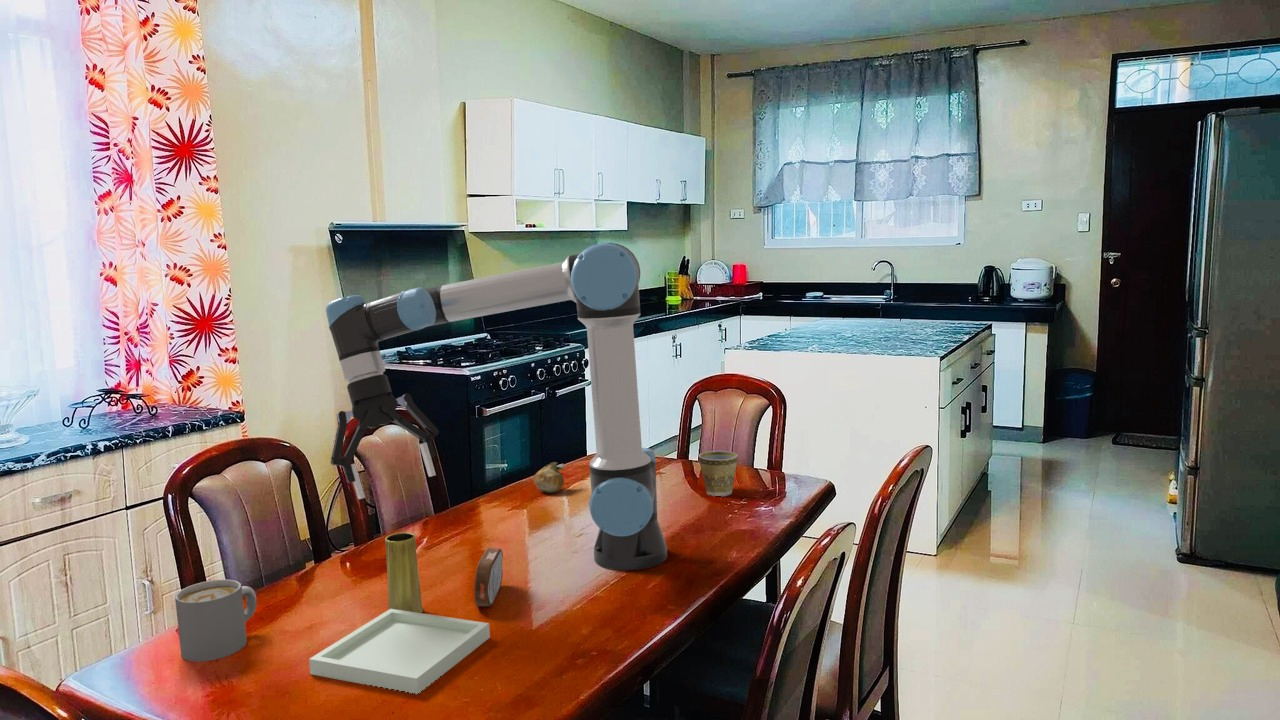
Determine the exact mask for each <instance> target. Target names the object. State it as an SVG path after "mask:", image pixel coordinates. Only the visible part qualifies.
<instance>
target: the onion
mask: <svg viewBox="0 0 1280 720" xmlns="http://www.w3.org/2000/svg"><path fill="white" fill-rule="evenodd" d="M557 464H558V462H555V461H554V462H550V463H549V464H546V465H545V466H544V467H542V468H541V469H540V470H538V471H537V472H536V473H535V474H534V475H533V476H534V477H533V483H534V484H535V486H536V487H537V489H538V490H540V492H543V493H546V494H552V493H553V494H554V493H557V492H559V491H560V490H562V488H563V486H564V483H565V479H564V476H563V474H562V473H561V471H559V470H563V469H565V464H564V463H561V464H558V465H557Z"/></svg>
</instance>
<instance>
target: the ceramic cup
mask: <svg viewBox="0 0 1280 720" xmlns="http://www.w3.org/2000/svg"><path fill="white" fill-rule="evenodd" d="M698 461H699V466H700V469H701V472H702V476H703V481H704V488H705V490H706V495H708V496H710V495H711V497H715V496H721V497H727V496H730V495H732V493H733V489H734V482H735V481H734V480H735V475H736V468H737V464H738V454H737V453H736V452H734V451H729V450H728V451H727V450H711V451H710V450H709V451H704V452H702V453H700V454H698Z"/></svg>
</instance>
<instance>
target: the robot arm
mask: <svg viewBox="0 0 1280 720" xmlns="http://www.w3.org/2000/svg"><path fill="white" fill-rule="evenodd" d="M640 279H641V267H640V264H639V261H638V258H637V257H636V256H635V254H634V253H633V252H632V251H631V250H630V248H627V247H626V246H624V245H622V244H620V243H619V244H618V243H613V242H604V241H603V242H598V243H593V244H592V245H589V246H588V247H586V248H585V249H583V250H582V251H581V252H580V253H576V254H572V255H568V256H567V257H566V258H565V260H564V261H563V262H557V263H553V264H548V265H547V264H546V265H541V266H538V267H532V268H527V269H521V270H520V269H519V270H516V271H511V272H506V273H499V274H496V275H490V276H484V277H479V278H475V279H469V280H464V281H458V282H453V283H447V284H443V285H438V286H433V287H427V288H426V287H415V288H410V289H405V290H403V291H400V292H398V293H395V294H391V295H389V296H385V297H384V298H383V297H382V298H381V299H377V300H373V301H371V302H367V301H366V298H365V297H364V296H362V295H359V294H356V295H348V296H346V297H340V298H337V299H335V300H332V301H330V302H328V304H327V305H326V307H325V312H326V319H327V322H328V330H329V331H330V334H331V337H332V339H333V342H334V346H335V349H336V352H337V357H338V360H339V363H340V364H339V365H340V366H341V370H342V374H343V378H344V381H346V382H348V384H347V386H346V388H347V392H348V396H349V399H350V404H351V406H352V408H351V410H347V411H344V410H339V412H337V413H336V421H337V429H336V433H335V439H334V444H333V449H332V452H331V457H330V464H331V466H340V467H342V468H343V473H344V475H345V480H346V482H347V483H349V484H351V483H353V485H354V488H355V491H356V492H355V493H356V496H357V499H358V500H362V499H365V498H366V495H365V492H364V488H363V486H362V482H361V481H362V480H361V479H360V476H359V471H358V467H357V465H356V463H352V464H351V462H352V460H353V459H354V456H355V454H356V452H357V449H358V447H359V445H360V444H361V441H362V439H363V437H364V434H365V432H366V431H367V429H374V428H377V427H379V426H384V425H388V424H389V423H390V422H392V423H393V424H396V425H397V426H399V427H401V428H402V429H403V430H405V431H407V432H408V433H410V434H411V435H413V436H414V437H416V438H417V439H418V440H420V441H422V442H423V443H419V449H420V452H421V455H422V459H423V463H424V466H425V468H426V473H427V475H428V478H430V477H433V476H434V477H435V476H437V474H436V471H435V467H434V464H433V459H432V458H435V457H436V452H435V449H434V446H433V441H432V440H433V439H434V438H435V437H436V436H438V435H439V433H440V430H439V429H438V428H437V427H436V426H435V425H434V424H433V422H432V421H431V420H430V419H429V418H428V417H427V416H426V415H425V414H424V413H423V412H422V410H421V409H420V408H419V407H418V406H417V405H416V404H415V402H414V399H413V398H412V396H411V394H410V393H405V394H403V395H402V396H399V397H397V398H395V396H394V395H393V392H392V388H391V385H390V382H389V378H388V375H387V374H384V373H385V372H386V367H385V365H384V361H383V357H382V353H381V350H380V346H379V342H383V341H384V340H387V339H391V338H394V337H397V336H401V335H404V334H407V333H411V332H415V331H420V330H423V329H425V328H427V327H432V326H438V325H444V324H448V323H451V322H456V321H457V322H458V321H462V320H463V321H464V320H467V319H473V318H479V317H484V316H490V315H495V314H501V313H505V312H511V311H516V310H521V309H528V308H533V307H539V306H546V305H550V304H555V303H561V302H566V301H573V302H574V303H576V312H577V320H578V321H579V322H580V323H582V324H583V325H584V326H585V328H586V334H587V345H588V346H587V348H588V349H587V350H588V360H589V361H588V363H589V374H590V385H591V387H590V388H591V398H592V412H593V422H594V437H595V438H594V439H595V448H596V449H595V450H596V453H595V455H594V456H593V458H591V460H590V461H589V477H590V489H591V495H590V497H589V501H588V506H589V507H588V508H589V509H588V510H589V513H590V516H591V519H592V520H593V522H594V524H595V525H596V527H597V528H599V529H598V533H597V536H596V539H595V543H594V546H593V560H594V562H595V563H596V564H597V565H599V566H601V567H603V568H605V569H611V570H616V571H617V570H619V571H635V570H636V571H637V570H643V569H644V570H645V569H649V568H652V567H653V568H654V567H655V566H658V565H660V564H662V563H664V562H666V560H667V558H668V547H667V542H666V540H665V537H664V534H663V531H662V530H661V527H660V524H659V520H658V499H657V498H658V496H657V470H656V469H657V468H656V466H657V460H656V453H655V451H654V450H653V449H652V448H649V447H648V448H647V447H643V446H642V433H641V419H640V417H641V416H640V404H639V402H640V401H639V389H638V376H637V375H638V374H637V363H636V350H635V349H636V348H635V347H636V346H635V335H634V334H635V333H634V323H635V322H636V321H637V319H638V318H639V317H640V316H641V303H640V300H641V299H640V290H639V289H640V287H639V283H640V281H641V280H640ZM398 405H400V406H401V407H402V408H405V409H406V411H407V412H408V413H409V414H410V415H411V416H412V417H413V418H414V419H415V420H416V421H417V423H419V425H421V426H422V428H423V429H424V430H425V431H426V432H425V431H424V430H422V429H421V428H419V427H418V426H416V425H415V424H413V423H412V422H410V421H409V420H408V419H406V418H404V417H403V416H402V415H401V414H399V413H397V412H396V410H397V408H398ZM351 417H352V418H354V419H355V420H356V421H358V422H359V423H358V425H357V428H356V430H355V432H354V434H353V436H352V438H351V441H350V443H349V445H348V447H347V449H346V451H345V454H344V455H343V458H341V457H342V453H343V452H342V451H343V447H344V443H345V442H344V441H345V436H346V432H347V426H348V423H349V422H350V421H351Z"/></svg>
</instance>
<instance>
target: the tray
mask: <svg viewBox="0 0 1280 720" xmlns="http://www.w3.org/2000/svg"><path fill="white" fill-rule="evenodd" d="M490 634H491V633H490V623H489V622H483V621H475V620H469V619H463V618H455V617H449V616H443V615H436V614H429V613H423V612H422V613H417V612H410V611H403V610H396V609H389V608H388V610H386V611H384V612H383V613H381V614H380V615H378V616H376V617H375V618H374V619H373V618H372V619H371V620H370V621H368V622H367V623H365V624H364V625H362V626H360V627H359V628H357V629H355V630H354V631H352V632H350V633H349V634H348V635H345V636H344V637H342V638H341V639H339V640H338V641H336V642H334V643H332V644H331V645H329V646H328V647H326V648H323V650H321V651H320V652H317V654H314V655H313V656H311V657H310V658H308V662H309V663H308V664H309V673H310V675H312V676H313V675H314V676H318V677H322V678H323V677H324V678H329V679H334V680H339V681H344V682H351V683H356V684H361V685H365V684H366V686H370V685H372V686H371V687H375V686H377V688H380V687H383V688H382V689H386V688H388V689H387V690H391V689H394V690H393V691H396V690H399V691H398V692H401V691H405V692H404V693H407V692H409V693H408V694H412V693H413V695H417V694H418V693H419V694H420V693H422V692H423V691H424V690H426V689H427V688H428V687H429V686H430V685H432V684H433V683H434V682H436V681H437V680H438V679H439V678H441V677H442V676H443V675H445V673H447V672H449V670H451V669H452V668H453V667H455V666H456V665H457V664H459V663H460V662H461V661H462V660H463V659H465V658H466V657H467V656H469V655H470V654H471V653H472V652H473V651H475V650H476V649H477V648H478V647H479V648H480V646H481V645H482V644H483V643H485V642H486V641H487V640H490V638H491V635H490ZM440 676H441V677H440ZM435 680H436V681H435ZM431 683H432V684H431ZM426 687H427V688H426ZM422 690H423V691H422ZM421 691H422V692H421ZM414 693H415V694H414ZM419 694H418V695H419Z"/></svg>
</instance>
